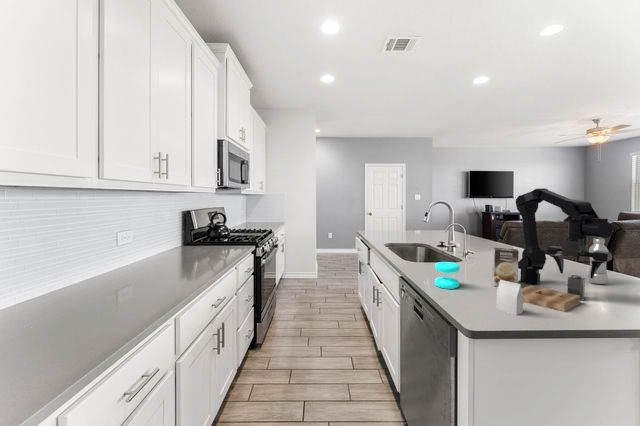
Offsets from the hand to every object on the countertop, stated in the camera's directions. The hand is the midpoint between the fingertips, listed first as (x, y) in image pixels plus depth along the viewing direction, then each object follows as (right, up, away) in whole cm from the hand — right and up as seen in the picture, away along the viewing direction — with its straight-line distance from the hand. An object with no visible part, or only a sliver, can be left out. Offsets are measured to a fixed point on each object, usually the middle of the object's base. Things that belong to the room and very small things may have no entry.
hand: (576, 275), depth 120 cm
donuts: (-42, -8, +18) cm, 46 cm away
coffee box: (-17, -8, +18) cm, 26 cm away
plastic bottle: (+25, -8, +20) cm, 33 cm away
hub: (-14, -9, -3) cm, 16 cm away
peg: (0, -9, 0) cm, 9 cm away
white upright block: (-33, -10, -12) cm, 36 cm away
